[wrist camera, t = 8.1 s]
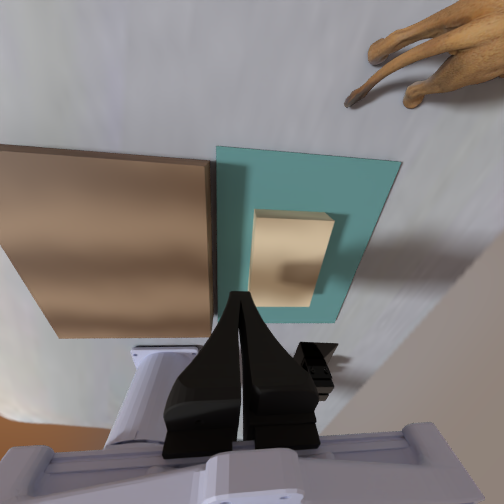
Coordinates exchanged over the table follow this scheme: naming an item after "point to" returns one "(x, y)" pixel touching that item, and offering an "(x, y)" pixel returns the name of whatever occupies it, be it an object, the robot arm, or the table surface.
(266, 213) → the beech tile
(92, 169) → the walnut board
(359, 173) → the teal mat
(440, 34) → the lion figurine
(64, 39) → the table surface
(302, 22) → the table surface
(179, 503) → the robot arm
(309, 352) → the black slotted bracket
